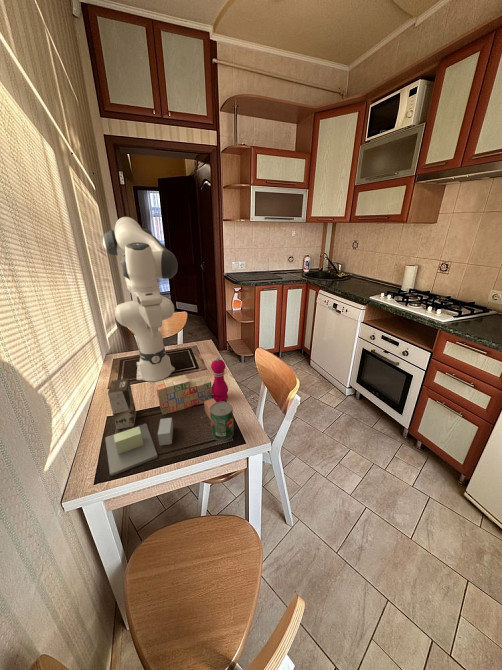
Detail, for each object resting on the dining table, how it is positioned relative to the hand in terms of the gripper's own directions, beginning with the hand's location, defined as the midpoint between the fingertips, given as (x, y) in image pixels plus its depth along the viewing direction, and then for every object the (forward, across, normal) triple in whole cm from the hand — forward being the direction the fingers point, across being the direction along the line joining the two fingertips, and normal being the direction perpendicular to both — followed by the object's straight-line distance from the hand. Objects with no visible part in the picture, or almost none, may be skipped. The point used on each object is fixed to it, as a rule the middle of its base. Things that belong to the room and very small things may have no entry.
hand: (152, 332), depth 96 cm
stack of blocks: (+36, -2, +9) cm, 37 cm away
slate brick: (+35, +13, -3) cm, 38 cm away
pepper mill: (+35, +2, +23) cm, 42 cm away
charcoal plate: (+35, +12, -15) cm, 40 cm away
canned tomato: (+35, +22, +15) cm, 44 cm away
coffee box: (+35, -4, -14) cm, 38 cm away
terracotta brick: (+35, +11, +16) cm, 40 cm away
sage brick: (+34, +12, -15) cm, 39 cm away
